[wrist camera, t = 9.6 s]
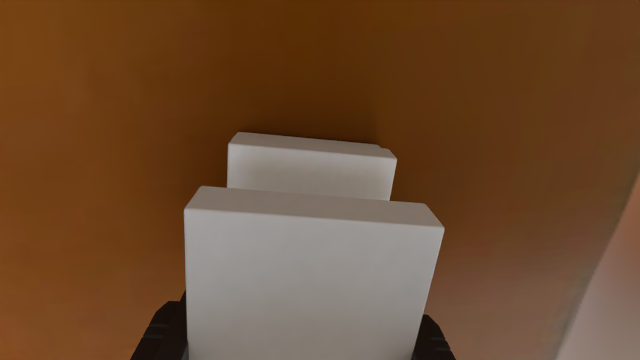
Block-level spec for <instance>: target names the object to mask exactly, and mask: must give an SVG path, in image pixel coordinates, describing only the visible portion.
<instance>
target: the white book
mask: <svg viewBox="0 0 640 360" xmlns="http://www.w3.org/2000/svg"><path fill="white" fill-rule="evenodd" d="M443 234H444V227H443V225H442V224H441V223H440V222H439V220H438V219H437V218H436V217H435V215H434V214H433V213H432V212H431V210H430V209H429V208H428V207H427V205H426V204H423V203H410V202H398V201H385V200H373V199H360V198H348V197H335V196H323V195H310V194H298V193H285V192H272V191H260V190H247V189H235V188H222V187H210V186H200V188H199V189H198V191H197V192H196V193H195V195H194V196H193V197H192V199H191V200H190V202H189V203H188V204H187V206H186V207H185V209H184V235H185V272H186V310H187V340H188V348H189V360H411V358H412V354H413V350H414V347H415V343H416V339H417V335H418V331H419V327H420V323H421V320H422V316H423V312H424V308H425V304H426V300H427V296H428V292H429V288H430V285H431V281H432V277H433V273H434V269H435V265H436V261H437V257H438V253H439V249H440V246H441V242H442V238H443Z"/></svg>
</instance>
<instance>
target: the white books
mask: <svg viewBox="0 0 640 360" xmlns="http://www.w3.org/2000/svg"><path fill="white" fill-rule="evenodd" d="M396 163H397V158H396V157H395V156H394V155H393V154H392V153H391V152H390V150H389V149H383V148H380V147H379V145H376V144H365V143H354V142H344V141H333V140H322V139H311V138H300V137H290V136H279V135H268V134H257V133H246V132H237V134H236V135H235V136H234V137H233V138H232V140H231V141H230V142H229V144H228V166H227V188H235V189H247V190H260V191H272V192H285V193H298V194H310V195H323V196H335V197H348V198H360V199H373V200H385V201H389V200H390V194H391V189H392V184H393V179H394V174H395V168H396Z"/></svg>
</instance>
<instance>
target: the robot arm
mask: <svg viewBox="0 0 640 360" xmlns="http://www.w3.org/2000/svg"><path fill="white" fill-rule="evenodd" d="M130 360H189V348H188V340H187V310H186V289H185V292H184V294H183V296H182V298H181V300H180V302H178V301H168V302H167V303H166V304H165V305H163V306H162V307H161V308H160V309H159V310H158V311H156V313H155V315H154V317H153V318H152V320H151V322H150V324H149V327H148V328H147V330H146V331H145V333H144V335H143V338H142V339H141V341H140V342H139V344H138V346H137V348H136V350H135V352H134V353H133V355H132V357H131V359H130ZM411 360H456V359H455V357H454V355H453V353H452V352H451V351H450V347H449V345H448V343H447V341H445V337H444V335H443V333H442V331H441V329H440V327H439V326H438V325H437V324H436V323H435V322H434V321H433V320H432V319H431V318H430V317H429V316H428V315H423V316H422V320H421V323H420V327H419V331H418V335H417V339H416V343H415V347H414V350H413V354H412V358H411Z"/></svg>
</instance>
